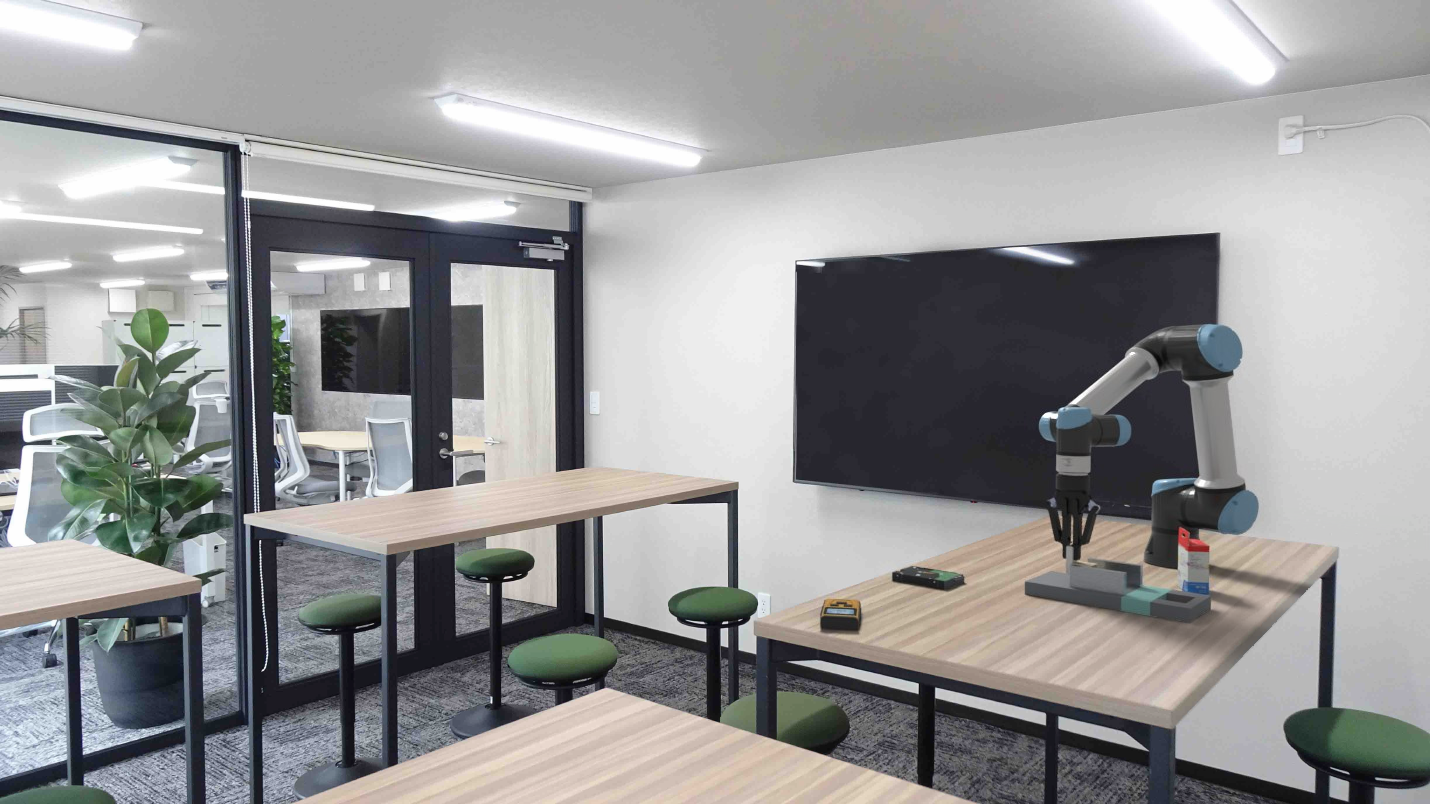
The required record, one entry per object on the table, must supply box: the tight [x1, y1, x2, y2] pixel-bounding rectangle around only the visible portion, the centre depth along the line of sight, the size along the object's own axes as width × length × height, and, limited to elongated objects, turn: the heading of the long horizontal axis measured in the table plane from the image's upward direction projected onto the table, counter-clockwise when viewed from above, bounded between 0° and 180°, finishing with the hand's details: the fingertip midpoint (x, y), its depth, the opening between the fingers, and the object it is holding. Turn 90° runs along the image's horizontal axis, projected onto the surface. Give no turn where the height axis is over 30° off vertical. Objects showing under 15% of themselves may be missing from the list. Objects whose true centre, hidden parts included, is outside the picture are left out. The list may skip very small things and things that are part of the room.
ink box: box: [1177, 527, 1210, 595], centre depth 221 cm, size 8×5×15 cm, turn 168°
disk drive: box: [891, 565, 965, 591], centre depth 231 cm, size 10×3×15 cm
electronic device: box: [819, 598, 862, 632], centre depth 196 cm, size 8×16×3 cm, turn 170°
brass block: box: [1070, 560, 1097, 568], centre depth 216 cm, size 4×4×4 cm
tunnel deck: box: [1024, 557, 1212, 624], centre depth 211 cm, size 15×36×8 cm, turn 47°
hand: (1071, 573), depth 218 cm, fingers closed
